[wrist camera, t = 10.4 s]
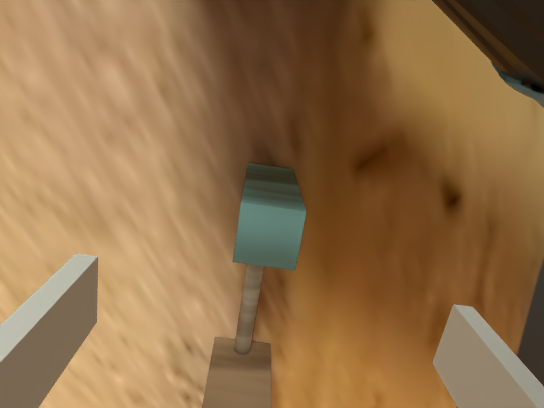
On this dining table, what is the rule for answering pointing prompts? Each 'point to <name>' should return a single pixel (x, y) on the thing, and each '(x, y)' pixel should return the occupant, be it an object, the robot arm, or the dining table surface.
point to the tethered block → (256, 284)
